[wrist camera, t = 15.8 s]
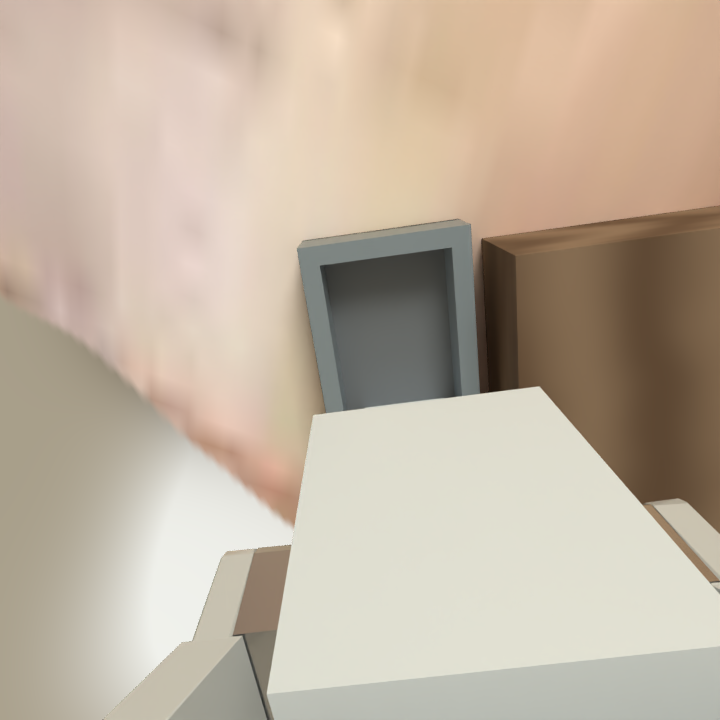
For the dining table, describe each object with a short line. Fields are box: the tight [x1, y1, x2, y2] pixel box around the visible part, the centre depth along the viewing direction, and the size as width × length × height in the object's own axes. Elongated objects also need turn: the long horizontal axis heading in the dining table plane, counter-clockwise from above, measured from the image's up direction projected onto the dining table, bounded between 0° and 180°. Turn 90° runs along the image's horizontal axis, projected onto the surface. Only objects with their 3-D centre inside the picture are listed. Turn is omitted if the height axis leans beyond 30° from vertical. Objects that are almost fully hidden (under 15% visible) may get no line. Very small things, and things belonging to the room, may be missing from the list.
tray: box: [297, 219, 480, 413], centre depth 23 cm, size 7×14×2 cm, turn 8°
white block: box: [267, 386, 720, 720], centre depth 7 cm, size 4×4×5 cm
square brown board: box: [482, 206, 720, 534], centre depth 22 cm, size 12×14×5 cm
